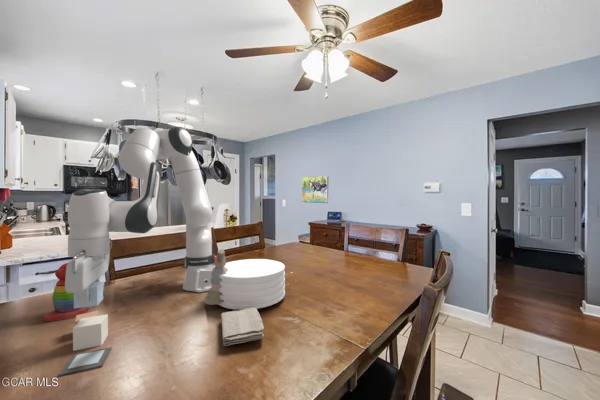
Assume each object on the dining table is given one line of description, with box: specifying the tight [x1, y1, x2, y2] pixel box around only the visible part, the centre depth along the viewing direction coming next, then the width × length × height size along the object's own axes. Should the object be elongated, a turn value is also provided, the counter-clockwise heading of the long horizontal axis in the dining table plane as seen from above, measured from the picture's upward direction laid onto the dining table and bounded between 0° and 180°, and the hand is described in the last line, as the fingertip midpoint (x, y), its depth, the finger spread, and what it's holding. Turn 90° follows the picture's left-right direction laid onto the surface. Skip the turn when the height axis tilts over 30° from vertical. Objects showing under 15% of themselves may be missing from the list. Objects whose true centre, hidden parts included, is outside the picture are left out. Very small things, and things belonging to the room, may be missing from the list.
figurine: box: [204, 249, 228, 305], centre depth 96 cm, size 9×8×20 cm
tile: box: [57, 346, 113, 377], centre depth 62 cm, size 8×8×1 cm
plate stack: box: [217, 258, 286, 311], centre depth 104 cm, size 28×28×12 cm
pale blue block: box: [74, 281, 104, 308], centre depth 70 cm, size 5×5×5 cm
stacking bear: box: [43, 262, 89, 322], centre depth 88 cm, size 11×10×18 cm
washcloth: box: [220, 307, 265, 347], centre depth 78 cm, size 12×18×3 cm, turn 20°
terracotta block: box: [74, 310, 99, 326], centre depth 75 cm, size 5×5×5 cm
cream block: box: [72, 313, 109, 351], centre depth 70 cm, size 6×6×6 cm
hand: (89, 297), depth 70 cm, fingers closed on pale blue block, 5 cm apart
